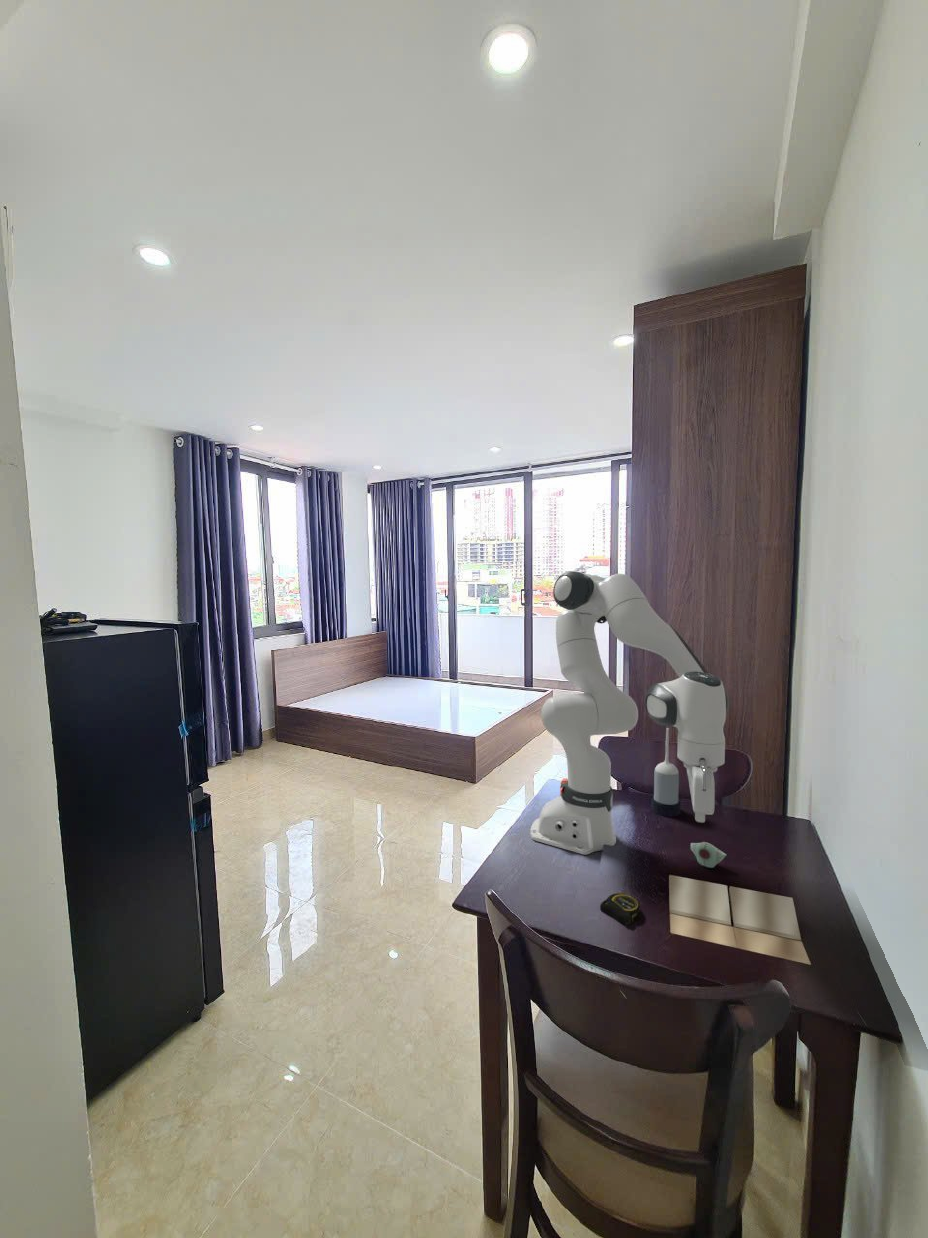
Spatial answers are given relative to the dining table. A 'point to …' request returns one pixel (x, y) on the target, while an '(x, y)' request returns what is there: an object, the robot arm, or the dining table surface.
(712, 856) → the pale green lumpy piece
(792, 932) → the plank
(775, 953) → the laid strip
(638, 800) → the dining table surface
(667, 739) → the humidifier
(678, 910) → the plank
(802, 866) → the dining table surface
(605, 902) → the tape measure
